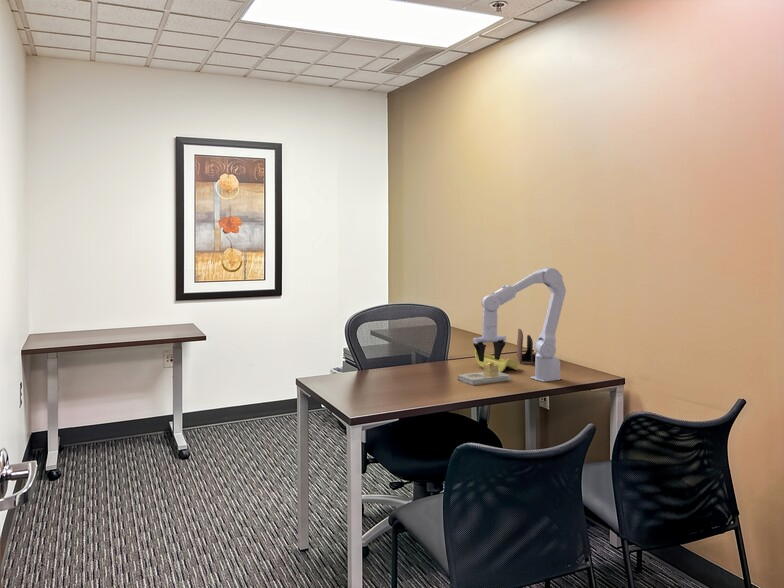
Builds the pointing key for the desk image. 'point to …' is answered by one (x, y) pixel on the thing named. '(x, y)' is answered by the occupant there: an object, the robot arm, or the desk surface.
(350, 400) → the desk surface
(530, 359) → the letter holder
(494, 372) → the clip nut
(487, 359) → the yellow curved piece
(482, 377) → the grey stone slab
